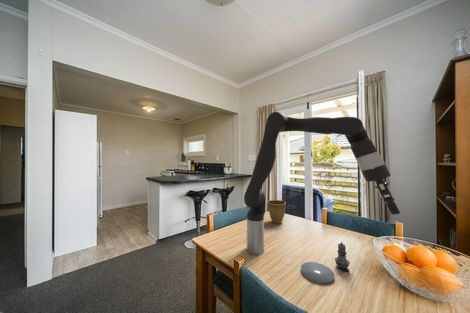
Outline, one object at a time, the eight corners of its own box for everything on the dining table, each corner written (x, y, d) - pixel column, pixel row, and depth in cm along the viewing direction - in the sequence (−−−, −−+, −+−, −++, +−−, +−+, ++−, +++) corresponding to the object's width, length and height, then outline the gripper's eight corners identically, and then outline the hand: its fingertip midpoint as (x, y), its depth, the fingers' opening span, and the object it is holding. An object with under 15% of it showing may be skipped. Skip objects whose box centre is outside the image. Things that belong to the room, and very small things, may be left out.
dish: (308, 284, 68) (308, 281, 68) (296, 264, 81) (296, 262, 81) (341, 283, 68) (341, 280, 68) (323, 264, 81) (323, 261, 81)
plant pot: (271, 217, 148) (271, 199, 148) (289, 221, 139) (288, 201, 140) (264, 223, 136) (263, 202, 136) (282, 227, 127) (282, 205, 128)
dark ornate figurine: (344, 274, 74) (343, 246, 74) (331, 266, 79) (331, 240, 80) (353, 270, 76) (352, 243, 77) (340, 263, 82) (339, 238, 82)
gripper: (361, 169, 71) (380, 208, 67) (359, 171, 60) (382, 218, 56) (383, 163, 67) (405, 204, 63) (385, 163, 56) (412, 213, 52)
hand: (394, 210), depth 59 cm, fingers open, 8 cm apart
